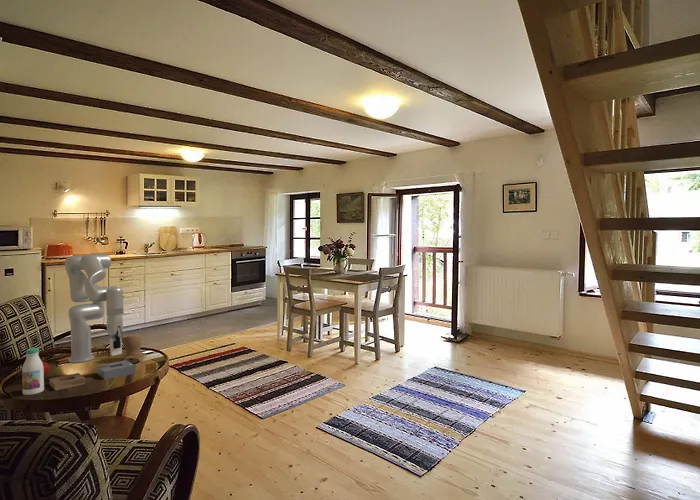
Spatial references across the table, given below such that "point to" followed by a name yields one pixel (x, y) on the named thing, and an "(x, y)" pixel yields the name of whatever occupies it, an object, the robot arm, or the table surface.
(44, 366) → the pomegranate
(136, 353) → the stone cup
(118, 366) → the port block
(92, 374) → the table surface
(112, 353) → the plug
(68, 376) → the slotted socket block
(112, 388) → the table surface
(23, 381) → the milk bottle
